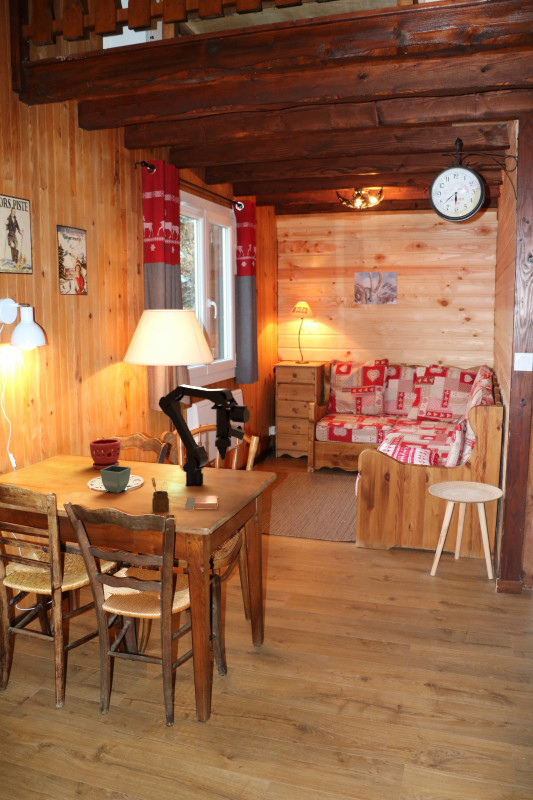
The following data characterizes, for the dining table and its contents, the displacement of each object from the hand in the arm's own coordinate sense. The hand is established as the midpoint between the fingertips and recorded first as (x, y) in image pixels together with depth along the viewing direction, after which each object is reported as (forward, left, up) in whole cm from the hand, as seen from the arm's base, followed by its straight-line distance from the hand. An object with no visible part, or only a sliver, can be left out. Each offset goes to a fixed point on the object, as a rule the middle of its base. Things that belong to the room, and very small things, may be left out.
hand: (223, 459), depth 264 cm
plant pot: (-53, +35, -12) cm, 65 cm away
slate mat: (-7, -20, -12) cm, 24 cm away
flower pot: (-42, -2, -12) cm, 44 cm away
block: (-6, -17, -10) cm, 21 cm away
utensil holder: (-22, -28, -12) cm, 38 cm away
